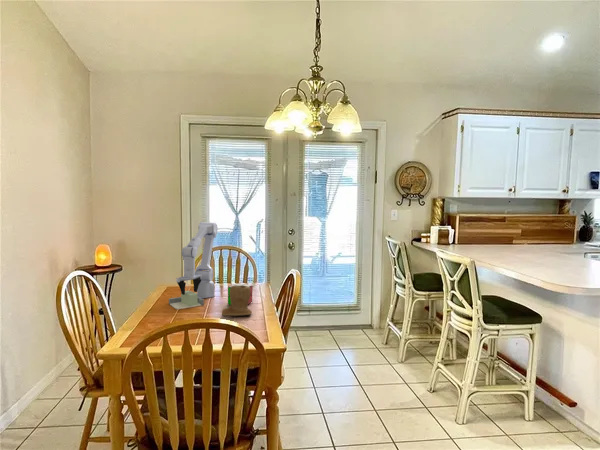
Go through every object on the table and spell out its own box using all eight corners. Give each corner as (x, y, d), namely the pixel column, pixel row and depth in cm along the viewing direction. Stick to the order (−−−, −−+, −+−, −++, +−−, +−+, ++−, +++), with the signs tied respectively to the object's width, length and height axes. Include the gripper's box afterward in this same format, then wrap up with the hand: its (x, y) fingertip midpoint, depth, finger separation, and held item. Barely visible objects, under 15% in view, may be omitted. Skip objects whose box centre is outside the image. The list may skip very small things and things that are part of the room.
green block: (197, 304, 211) (197, 293, 210) (190, 306, 207) (190, 295, 207) (188, 301, 217) (188, 290, 216) (181, 302, 213) (181, 291, 213)
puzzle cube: (252, 302, 219) (252, 285, 219) (242, 307, 210) (242, 289, 209) (237, 300, 224) (237, 283, 223) (227, 304, 214) (227, 286, 214)
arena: (194, 299, 221) (194, 294, 221) (203, 305, 212) (203, 299, 212) (168, 304, 212) (168, 298, 212) (176, 309, 203) (176, 304, 203)
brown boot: (250, 310, 205) (251, 282, 204) (252, 317, 193) (253, 288, 192) (221, 311, 202) (221, 283, 201) (221, 318, 190) (221, 288, 189)
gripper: (196, 265, 218) (196, 289, 220) (173, 269, 208) (173, 294, 209) (204, 267, 214) (203, 291, 215) (180, 271, 203) (180, 296, 204)
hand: (189, 293), depth 212 cm, fingers open, 7 cm apart
